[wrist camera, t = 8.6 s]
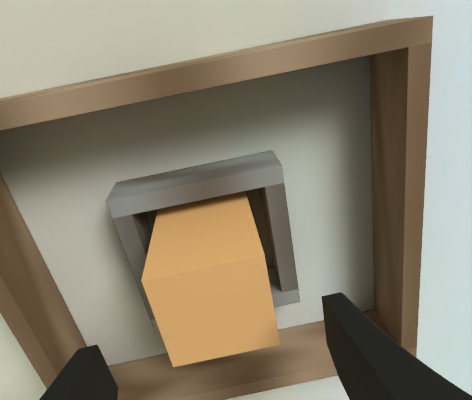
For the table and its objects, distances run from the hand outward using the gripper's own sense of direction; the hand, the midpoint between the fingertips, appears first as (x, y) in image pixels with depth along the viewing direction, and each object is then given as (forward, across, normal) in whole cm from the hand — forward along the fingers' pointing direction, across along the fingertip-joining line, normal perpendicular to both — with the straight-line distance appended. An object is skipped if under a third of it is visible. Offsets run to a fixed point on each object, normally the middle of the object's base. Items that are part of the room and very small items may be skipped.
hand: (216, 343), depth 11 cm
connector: (+7, 0, 0) cm, 7 cm away
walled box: (+7, 0, 0) cm, 7 cm away
